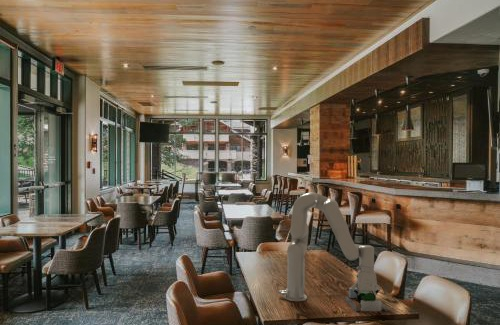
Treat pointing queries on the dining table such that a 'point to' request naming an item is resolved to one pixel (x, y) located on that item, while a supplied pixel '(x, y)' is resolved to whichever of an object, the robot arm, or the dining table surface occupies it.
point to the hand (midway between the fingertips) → (366, 302)
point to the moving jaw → (352, 293)
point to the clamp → (367, 295)
